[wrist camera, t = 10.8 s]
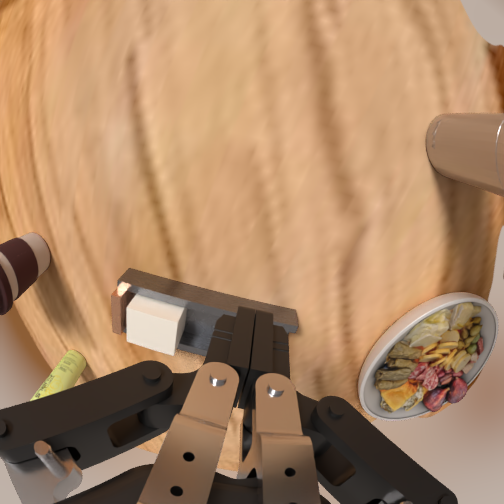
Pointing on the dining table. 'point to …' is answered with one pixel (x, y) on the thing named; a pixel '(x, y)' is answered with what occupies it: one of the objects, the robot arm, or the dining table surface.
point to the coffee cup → (20, 267)
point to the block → (155, 324)
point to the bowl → (428, 357)
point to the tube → (63, 375)
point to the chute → (189, 307)
